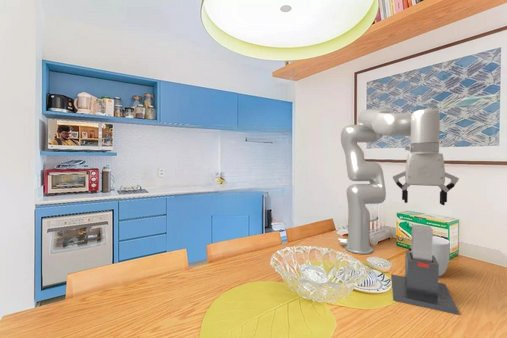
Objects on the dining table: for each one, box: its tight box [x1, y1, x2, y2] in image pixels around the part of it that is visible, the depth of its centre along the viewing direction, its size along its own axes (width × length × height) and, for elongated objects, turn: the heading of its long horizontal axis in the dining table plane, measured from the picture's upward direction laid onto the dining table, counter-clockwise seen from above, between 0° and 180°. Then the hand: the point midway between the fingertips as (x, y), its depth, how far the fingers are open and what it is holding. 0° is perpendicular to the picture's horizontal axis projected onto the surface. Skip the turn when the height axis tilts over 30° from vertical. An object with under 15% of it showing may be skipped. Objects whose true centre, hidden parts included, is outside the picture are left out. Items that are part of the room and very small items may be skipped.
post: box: [410, 223, 434, 262], centre depth 81 cm, size 5×5×20 cm
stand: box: [390, 251, 459, 315], centre depth 82 cm, size 16×16×12 cm
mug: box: [432, 235, 451, 278], centre depth 96 cm, size 15×11×13 cm
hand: (423, 203), depth 80 cm, fingers open, 9 cm apart
